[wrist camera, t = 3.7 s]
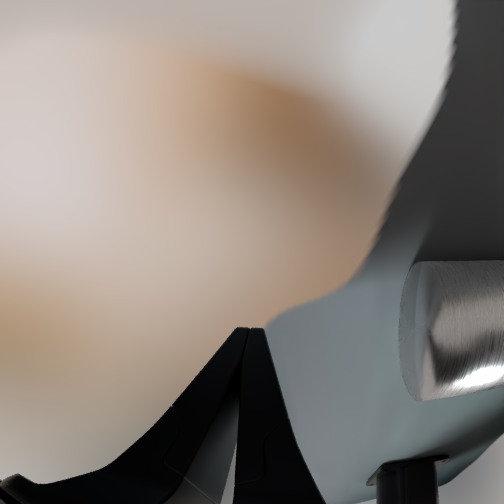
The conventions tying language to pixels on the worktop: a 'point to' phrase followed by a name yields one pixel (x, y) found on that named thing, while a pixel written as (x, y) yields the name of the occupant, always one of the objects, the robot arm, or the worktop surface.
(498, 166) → the worktop surface
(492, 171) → the worktop surface
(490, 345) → the tube
